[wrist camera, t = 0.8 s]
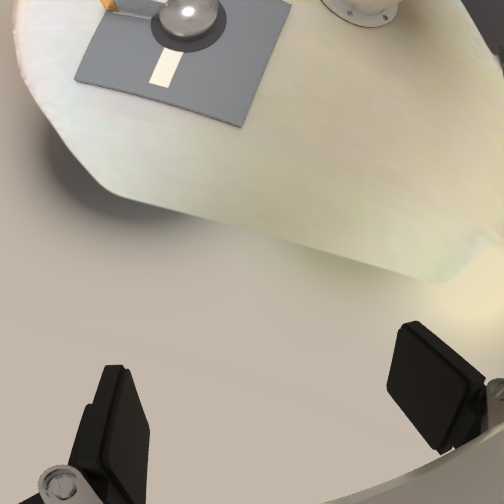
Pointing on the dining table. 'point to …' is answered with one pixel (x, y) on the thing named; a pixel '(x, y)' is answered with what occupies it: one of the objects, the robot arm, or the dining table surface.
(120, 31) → the panel
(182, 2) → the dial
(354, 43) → the dining table surface
